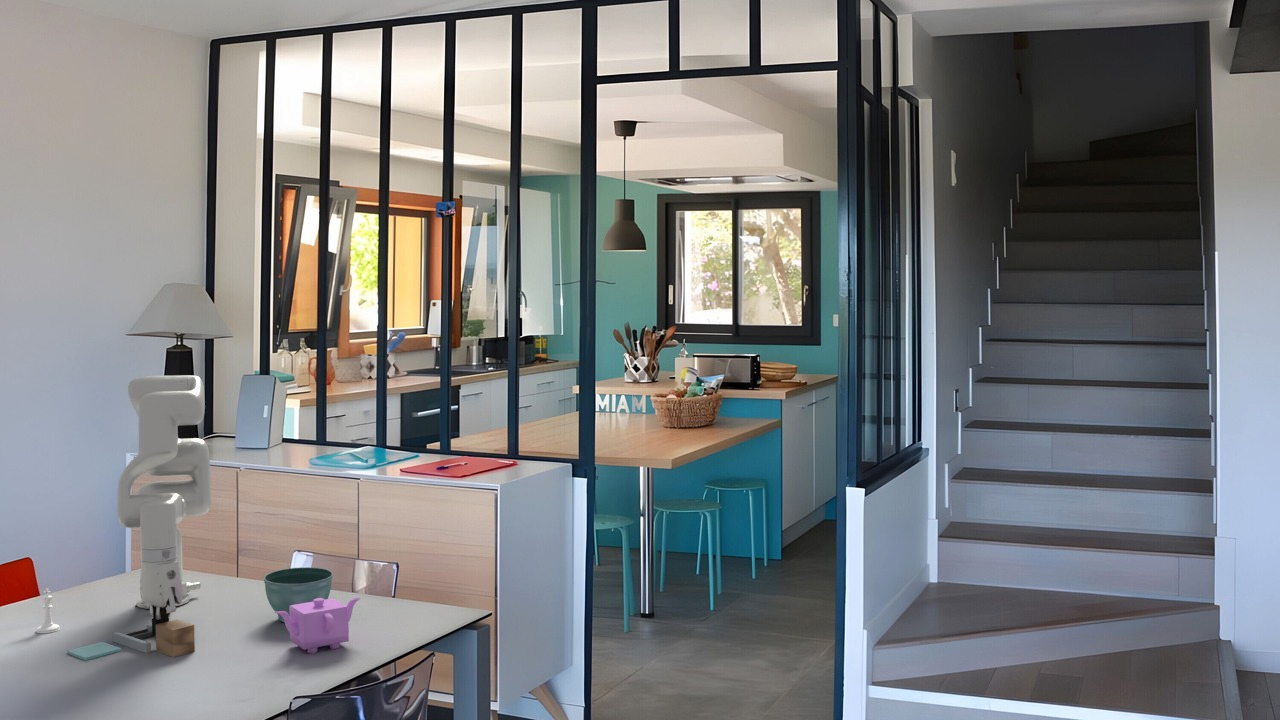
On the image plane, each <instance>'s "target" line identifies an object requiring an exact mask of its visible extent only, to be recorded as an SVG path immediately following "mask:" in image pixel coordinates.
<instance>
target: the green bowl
mask: <svg viewBox="0 0 1280 720" xmlns="http://www.w3.org/2000/svg"><path fill="white" fill-rule="evenodd" d="M333 576H334V575H333V571H332V570H329V569H327V568H323V567H322V568H321V567H309V566H308V567H303V566H302V567H291V568H289V567H288V568H284V569H283V568H282V569H279V570H278V569H277V570H274V571H271V572H269V573H266V574H265V575H264V577H263V581H264V587H265V589H264V591H265V595H266V597H267V600H268V603H269V604H270V607H271V609H272V610H273V612H274V613H275V612H277V611H285V612H287V613H288V614H289V616H290V605H296V604H301V603H307V602H313V600H314V599H317V598H323V599H324V600H325V599H329V596H330V593H331V589H332V581H333ZM277 617H278V620H279V621H280V622H282V623H285V622H284V619H283V617H282V616H281V615H280V614H277Z"/></svg>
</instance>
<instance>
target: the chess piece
mask: <svg viewBox="0 0 1280 720" xmlns="http://www.w3.org/2000/svg"><path fill="white" fill-rule="evenodd" d="M51 593H52V591H50V590H49V588H45V590H43V594H45V595H44V596H42V600H43V603H44V605H43V606H42V609H43V610H44V609H45V610H44V621H43V623H42V625H39V626H38V627H37V628H36V633H37V634H50V633H51V634H52V633H55V632H58V631H59V630H60V629H61V627H60V625H59V624H58V623H57V624H56V623H54V621H52V619H53V618H52V614H51V608H53V605H52V604H51V602H52V598H53V596H52V595H50V594H51Z"/></svg>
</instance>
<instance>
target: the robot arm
mask: <svg viewBox="0 0 1280 720" xmlns="http://www.w3.org/2000/svg"><path fill="white" fill-rule="evenodd" d="M127 394H128V396H129V397H128V398H129V400H130V403H131V405H132V406H133V409H134V410H135V412H136V415H137V416H138V417H137V418H138V453H137V455H135V457H134V458H133V459H132V460H131V461H130V462H129V463H128V464H127V465H126V467H125V468H124V470H123V471H122V473H121V475H120V478H119V479H118V483H117V503H116V504H117V506H116V507H117V508H116V509H117V512H116V513H117V518H118V522H119V524H120V525H121V526H122V527H124V528H127V529H129V528H130V529H135V528H139V534H140V536H139V537H140V539H139V540H140V541H139V542H140V545H139V546H140V565H141V566H140V574H139V575H140V580H139V591H140V597H139V598H138V599H137V600H136V606H137V607H138V608H141V609H145V610H149V616H150V619H151V624H152V635H153V636H152V637H156V624H160V623H164V622H168V621H170V618H171V613H174V612H176V610H177V608H176V607H179V606H182V605H185V604H187V603H188V602H189V601H190V598H191V596H190V594H188V593H189V592H191V591H196V590H200V589H201V587H202V586H201V582H200V581H194V582H189V581H188V582H185V581H184V577H183V573H184V572H183V570H184V569H183V536H182V532H181V530H180V528H179V527H178V526H177V525H178V524H179V523H181V522H182V520H183V518H185V517H187V518H188V517H198V516H204V515H206V514H208V512H209V511H210V508H211V500H212V492H211V489H212V488H211V461H210V460H211V459H210V457H211V456H210V450H209V447H208V444H207V442H206V441H205V440H204V439H201V438H197V437H193V438H192V437H191V438H189V437H188V438H179V435H178V433H179V431H178V427H179V426H195V425H199V424H201V423H202V422H203V420H204V418H205V417H204V416H205V413H206V412H205V409H206V405H205V403H206V401H205V399H206V398H205V386H204V383H203V380H202V378H201V377H199V376H197V375H193V374H192V375H188V374H187V375H186V374H185V375H147V376H139V377H138V376H137V377H135V378H132V379H131V380H130V381H129V382H128V385H127ZM144 473H145V474H146V475H148V476H151V477H178V476H179V477H180V476H182V477H183V476H188V477H190V478H191V479H181V480H160V481H151V482H147V483H145V484H143V485H142V486H140V487H139V489H138V491H137V494H131V490H132V486H133V484H134V482H135V481H136V480H137V479H138V478H140V477H141V475H143V474H144Z"/></svg>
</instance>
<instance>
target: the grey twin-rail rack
mask: <svg viewBox="0 0 1280 720" xmlns="http://www.w3.org/2000/svg"><path fill="white" fill-rule="evenodd" d="M112 635H113V636H112V639H113V640H112V641H113V643H117V644H119V645H123V646H125V647H128V648H131V649H133V650H137V651H139V652H142V653H144V654H148V653H152V642H148V641H145V639H148V638H152V637H154V636H153V635H152V623H148V624H146V628H144V629H139V630H136V631H132V632H128V633H121V632H119V631H117V632H116V631H115V632H113V633H112ZM143 639H144V640H143Z"/></svg>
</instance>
